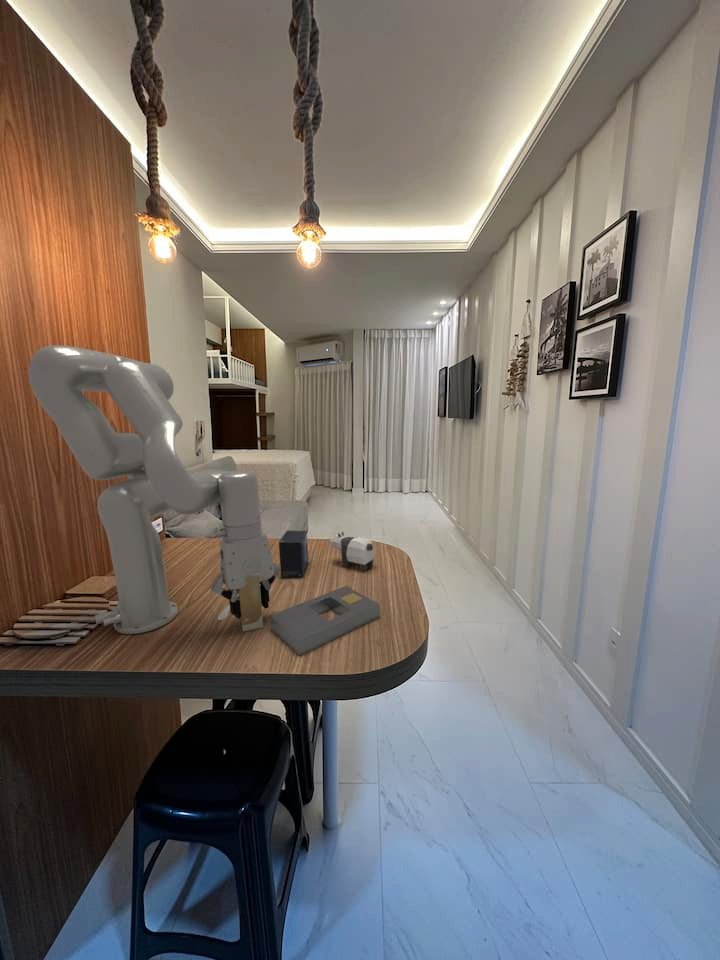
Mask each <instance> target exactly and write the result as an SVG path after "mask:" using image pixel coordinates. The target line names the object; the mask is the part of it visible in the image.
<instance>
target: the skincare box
mask: <svg viewBox="0 0 720 960" xmlns="http://www.w3.org/2000/svg"><path fill="white" fill-rule="evenodd" d="M245 580H246V586H245V587H243V588H241V589H239V592H238V594H239V596H238V600H239V601H240V608H241V618H240V622H241V623H240V624H241V629H242V632H248V631H252V630H257V629H261V628H264V616H263V606H262V605H261V593H260V581H259V573H256V574H253V575H250V576H248V577H245Z"/></svg>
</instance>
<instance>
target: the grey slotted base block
mask: <svg viewBox="0 0 720 960" xmlns="http://www.w3.org/2000/svg"><path fill="white" fill-rule="evenodd" d="M380 606H381V605H380V603H378V602H376V601H375V600H374V599H371V598H370V597H367V595H364V594H362V593H360V592H359V591H356V590H355V589H353V588H352V587H349V586H347V585H344V586H342V587H339V588H337V589H334V590H332V591H329V592H327V593H324V594H322V595H320V596H317V597H314V598H311V599H309V600H307V601H304V602H302V603H299V604H297V605H293V606H291V607H288V608H286V609H283V610H281V611H278V612H276V613H274V614H271V615H269V624H270V630H271V631H272V632H273V633H275V635H277V636H278V637H279V638H280V639H281V640H282V641H283V642H284V643H285V644H286V645H288V647H290V648H291V649H292V650H293V651H294V652H295V653H296V654H297V655H298V656H302V655H305V654H307V653H309V652H310V651H312V650H315V649H318V648H319V647H321V646H323V645H325V644H327V643H330V642H331V641H333V640H335V639H336V638H339V637H341V636H343V635H345V634H348V633H349V632H352V631H353V630H355V629H358V628H359V627H363V626H364V625H366V624H368V623H370V622H372V621H374V620H376V619H378V618H380V617H381V615H380V614H381V613H380V612H381V611H380V610H381V609H380ZM327 611H333V612H335V613H337V614H338V616H336V617H334V618H332V619H329V620H328V619H326V618H325V617H324V616H322V615H321V614H323V613H325V612H327Z"/></svg>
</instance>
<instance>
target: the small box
mask: <svg viewBox="0 0 720 960" xmlns="http://www.w3.org/2000/svg"><path fill="white" fill-rule="evenodd" d="M278 551H279V562H280V563H279V567H280V568H281V571H280V578H281V579H287V578H288V579H289V578H293V579H295V578H298V579H299V578H303V577H304V575H305V572H306V570H307V567H308V565H309V547H308V531H307V530H285V533H284V534H283V536H282V537H281V538H280V539H279V541H278Z"/></svg>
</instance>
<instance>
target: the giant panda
mask: <svg viewBox="0 0 720 960" xmlns="http://www.w3.org/2000/svg"><path fill="white" fill-rule="evenodd" d="M329 543H331V545H332V547H333V548H334V549H336V550H337V551H340V555H341V561H342V564H341V565H340V567H341V568H344V569H348V568H350V566H351V564H352V565H355V564H359V568H358V572H363V573H366V572H367V571H368V568H369V569H371V568H372V569H373V567H374V560H375V546H374V544H373V542H372V541H371V540H370V539H368V538H366V537H363V536H362V537H359V536H358V537H354V536H353V537H351V536H347V537H346V536H345V534H344V531H341V533H340V532H339V533H337V534H335V535H334V536H333V538H331V539H329Z"/></svg>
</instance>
